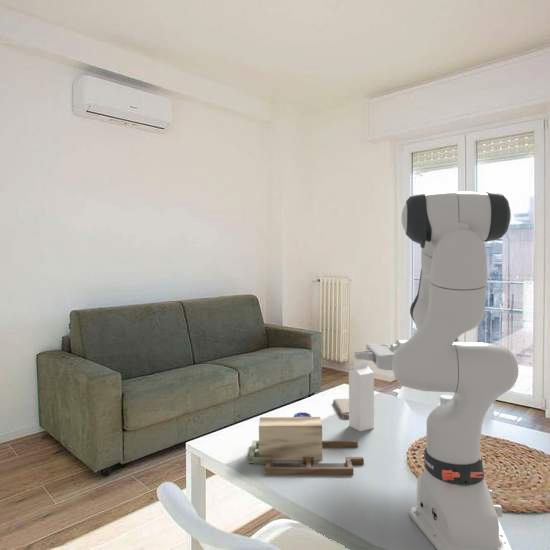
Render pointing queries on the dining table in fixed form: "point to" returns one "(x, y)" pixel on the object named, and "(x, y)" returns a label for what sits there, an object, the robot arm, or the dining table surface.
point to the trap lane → (309, 462)
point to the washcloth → (342, 407)
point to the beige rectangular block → (290, 438)
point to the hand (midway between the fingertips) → (355, 355)
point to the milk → (361, 397)
